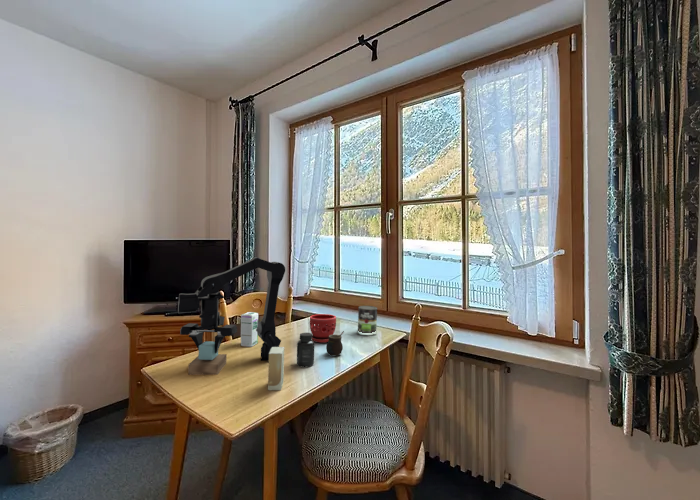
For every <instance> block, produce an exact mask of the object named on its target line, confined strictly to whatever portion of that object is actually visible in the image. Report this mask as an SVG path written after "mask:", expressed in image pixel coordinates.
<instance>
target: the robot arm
mask: <svg viewBox="0 0 700 500" xmlns="http://www.w3.org/2000/svg"><path fill="white" fill-rule="evenodd" d="M256 269H261V270H264V271H266V277H267V291H266V297H265V303H264V304H265V305H264V310H263V316H262V319H261V321H259V320H258V322H257V329H256V331H257V334H258V338H260V340H262V342H263V343H262V346H261V347H260V361H264V362H266V361H267V362H269V352H270V350H271V348H272V347H280V346H281V342H282V340H281V339H280V338H279V337H278V336H277V334H276V333H277V331H276V330H277V329H276V328H277V327H276V324H275V323H276V322H275V317H276V316H275V315H276V309H277V302H278V297H279V296H278V295H279V289H280V286H281V283H282V281H283V279H284V276H285V273H286V267H285V265H284V264H283V263H282V262H279V261H278V262H277V261H271V262H270V261H267V260H264V259H262V258H260V257H256V256H254V257H252V258H251V259H249V260H247V261H244V262H243V263H240V264H239V265H237V266H235V267H233V268H231V269H228V270H226V271H223V272H219V273H216V274H211V275H209V276H205V277H204V278H203V279H202V280H201V282H200V286H199V288H197V290H196V291H195V292H194V293H179V294H178V302H177V313H178V314H185V313H188V314H189V313H197V311H198V310H200V309H201V310H200V314H199V316H198V318H199V319H200V325H199V324H198V323H187V324H184V325H183V326H181V327H180V330H179V331H180V333H179V335H182V336H188V337H189V338H191V340H192V341H193V342H194V344H195V346H196V348H197V349H198V351H199V345H201V344H202V343H204V341H203V336H204V333H216V334H217V335H215V336H214V342H215V353H217V352H218V353H219V350H220V347H221V344H222V342H223V339H224V338H225V337H232V336H233V335H235V334H236V333H237V332H238V327H237V325H236V324H225V323H224V322H225V316H222V315H220V311H219V300H220V299H225V296H224V295H223V294H222V293H221V292H220V290H221V289H223V288H224V287H225V286H226V285H227V284H229V283H230V282H231V281H234V280H235V279H237V278H239V277H241V276H244V275H246V274H247V273H249V272H252V271H254V270H256ZM200 301H201V302H200ZM200 307H201V308H200ZM224 324H225V325H224Z"/></svg>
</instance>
